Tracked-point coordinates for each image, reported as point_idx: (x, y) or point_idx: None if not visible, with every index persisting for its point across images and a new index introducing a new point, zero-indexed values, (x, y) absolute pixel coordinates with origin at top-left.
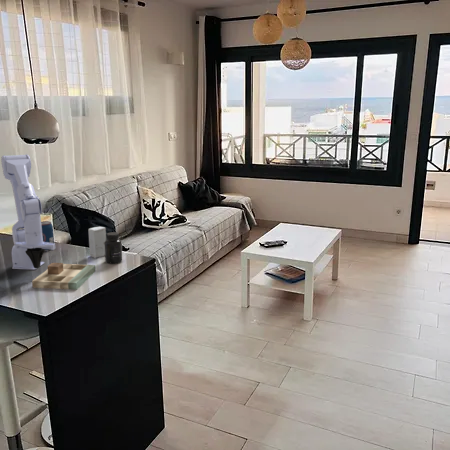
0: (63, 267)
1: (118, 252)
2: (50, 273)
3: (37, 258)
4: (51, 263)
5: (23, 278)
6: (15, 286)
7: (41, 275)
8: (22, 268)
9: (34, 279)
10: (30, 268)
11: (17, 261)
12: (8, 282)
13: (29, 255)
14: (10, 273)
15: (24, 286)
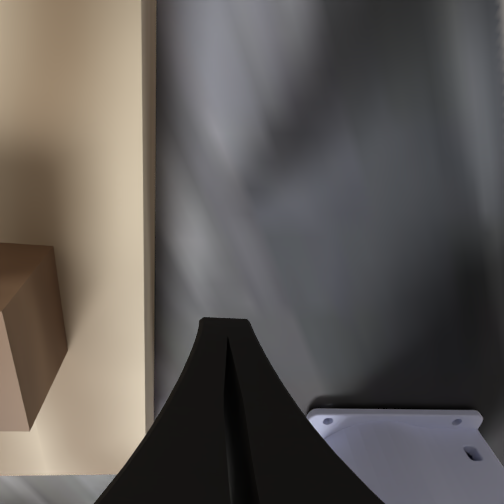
0: None
1: None
2: (14, 247)
3: (151, 435)
4: (19, 407)
5: (354, 255)
6: (384, 33)
7: (114, 200)
8: (407, 413)
9: (133, 35)
10: (347, 416)
11: (468, 472)
12: (475, 157)
13: (331, 492)
14: (479, 344)
15: (278, 30)
